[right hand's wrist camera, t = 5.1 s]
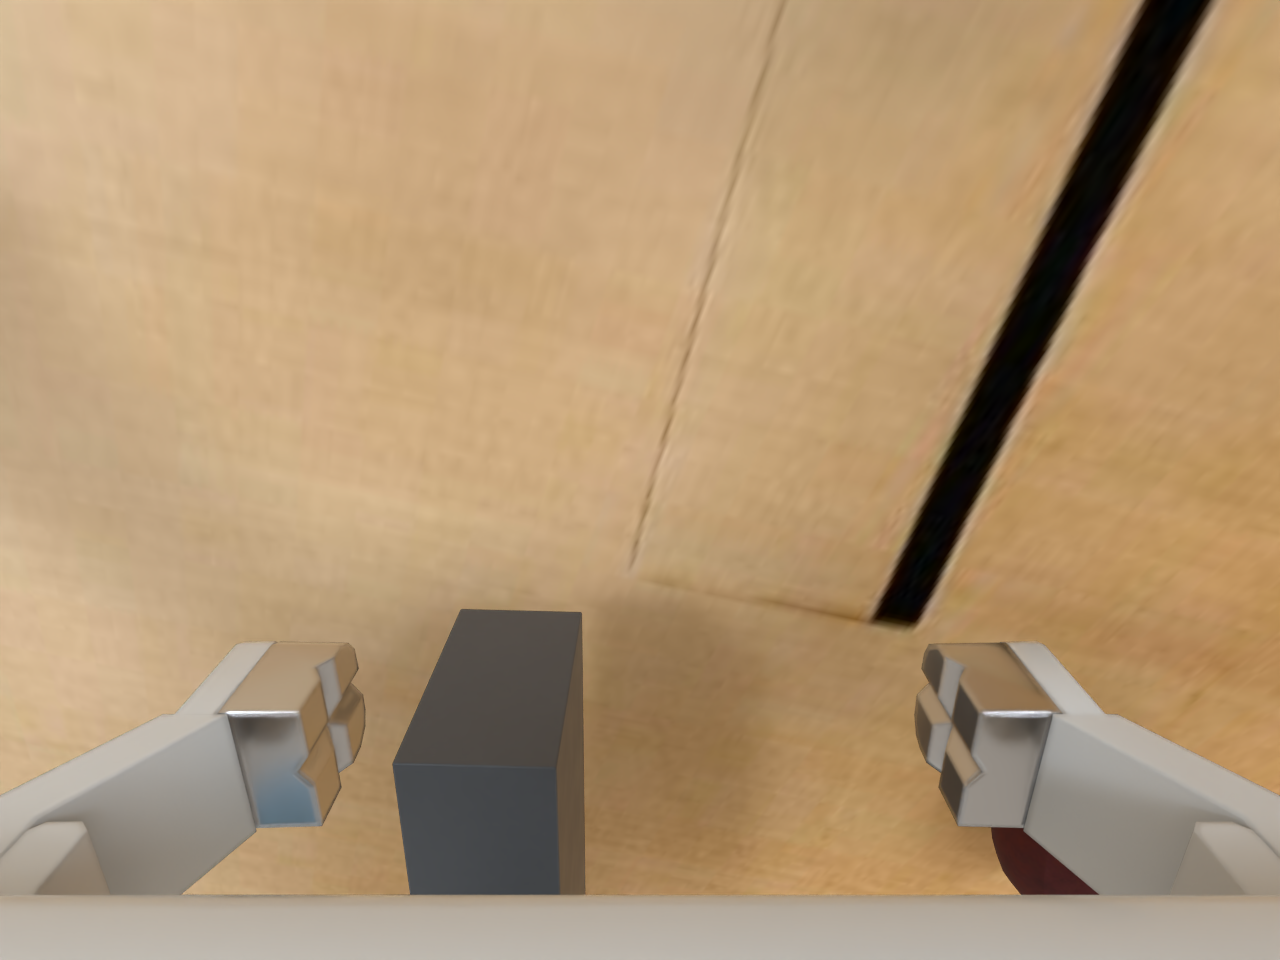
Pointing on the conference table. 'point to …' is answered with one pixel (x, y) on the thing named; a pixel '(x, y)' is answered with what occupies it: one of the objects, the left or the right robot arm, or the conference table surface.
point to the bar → (498, 760)
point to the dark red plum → (1034, 866)
